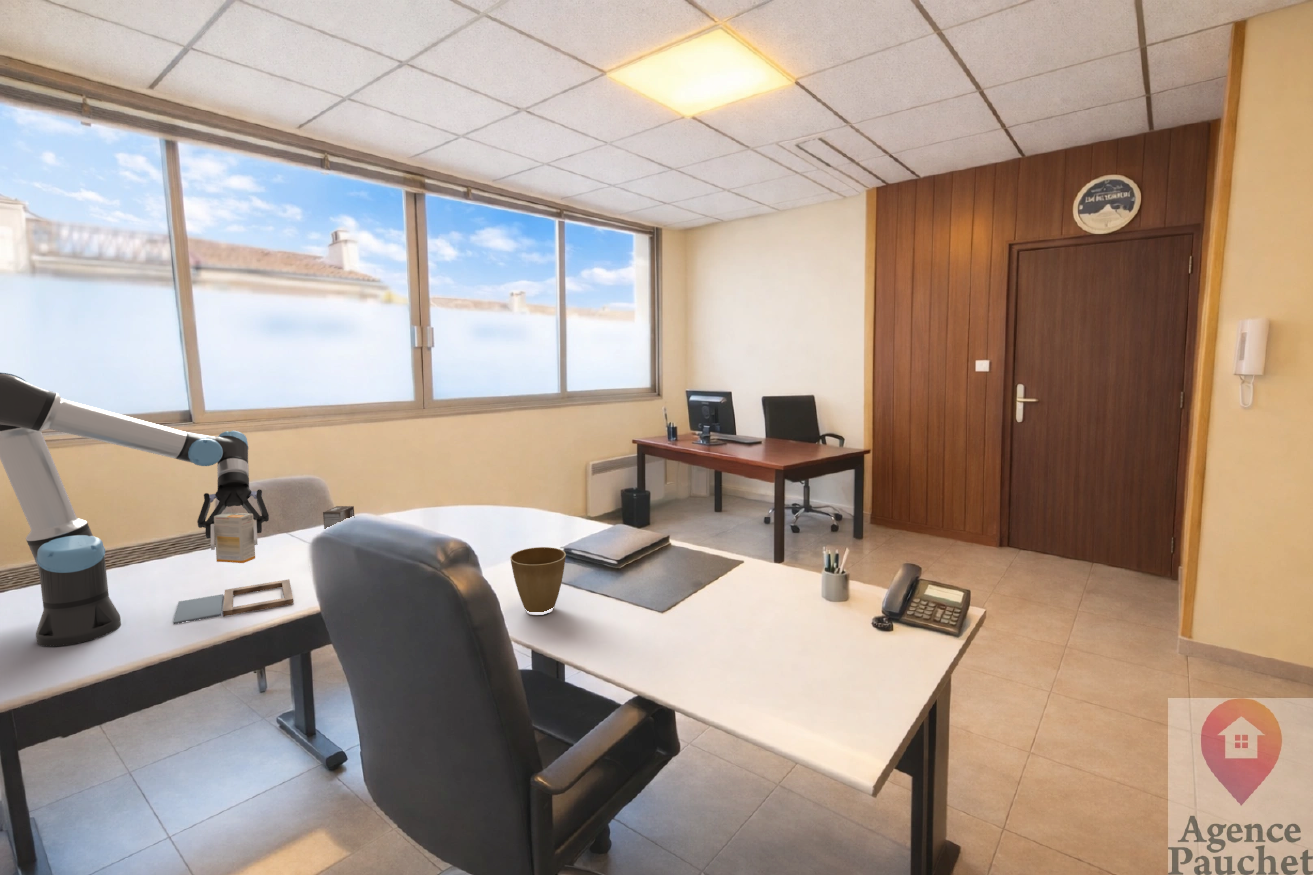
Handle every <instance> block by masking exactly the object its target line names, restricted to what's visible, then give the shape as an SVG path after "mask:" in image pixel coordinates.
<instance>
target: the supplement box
mask: <svg viewBox="0 0 1313 875" xmlns="http://www.w3.org/2000/svg"><path fill="white" fill-rule="evenodd" d="M253 520H254V519H253V514H249V513H248V512H247V513H245V512H222V513H221V514H219V515H216V516H214V527H215V555H216V556H215V557H216V562H217V563H233V564H245V563H248V562H250V561H253V560H255V559H256V545H254V523H253Z"/></svg>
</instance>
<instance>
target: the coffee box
mask: <svg viewBox="0 0 1313 875" xmlns="http://www.w3.org/2000/svg"><path fill="white" fill-rule="evenodd" d="M322 516H323V529H326V528H327V527H330V526H332V525H334V524H336V523H337V522H341V521H343V520H344V519H346V518H350V517H352V516H354V517H355V508H354V505H352V506H351V505H349V506H346V505H345V506H344V505H336V506H335V507H332V508H329V509H328V510H325V511H323V512H322Z"/></svg>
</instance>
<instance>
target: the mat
mask: <svg viewBox="0 0 1313 875" xmlns="http://www.w3.org/2000/svg"><path fill="white" fill-rule="evenodd" d="M223 603H224V594H223V593H222V594H216V595H210V596H204V597H198V598H192V599H191V598H190V599H186V600H180V601H178V602H177V606H176V611H175V614H174V618H173V621H172V625H177V624H178V623H179V624H183V623H182V622H184V623H187V622H186V621H190V622H195V621H200V620H199V619H201V620H204V619H205V620H207V619H212V618H217V617H221V616H222V614H223ZM194 620H195V621H194Z"/></svg>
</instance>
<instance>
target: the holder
mask: <svg viewBox="0 0 1313 875" xmlns="http://www.w3.org/2000/svg"><path fill="white" fill-rule="evenodd" d="M280 588H281V590H282V593H283V594H282V595H283V597H282V598H277V599H270V600H266V601H265V600H264V601H260V602H254V603H248V604H244V605H237V606H234V596H239V595H244V594H251V593H258V592H263V591H269V590H275V589H280ZM257 591H258V592H257ZM233 595H234V596H233ZM289 605H294V596H293V590H292V586H291V581H290V579H289V578H288V579H284V580H283V579H281V580H277V581H271V582H270V581H269V582H264V583H259V584H252V585H247V586H239V587H233V588H229V589H228V588H226V589H224V594H223V604H222V614H223V617H229V616H234V615H241V614H246V613H251V612H257V611H262V610H263V611H264V610H266V609H267V610H268V609H273V608H278V607H284V606H289Z"/></svg>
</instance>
